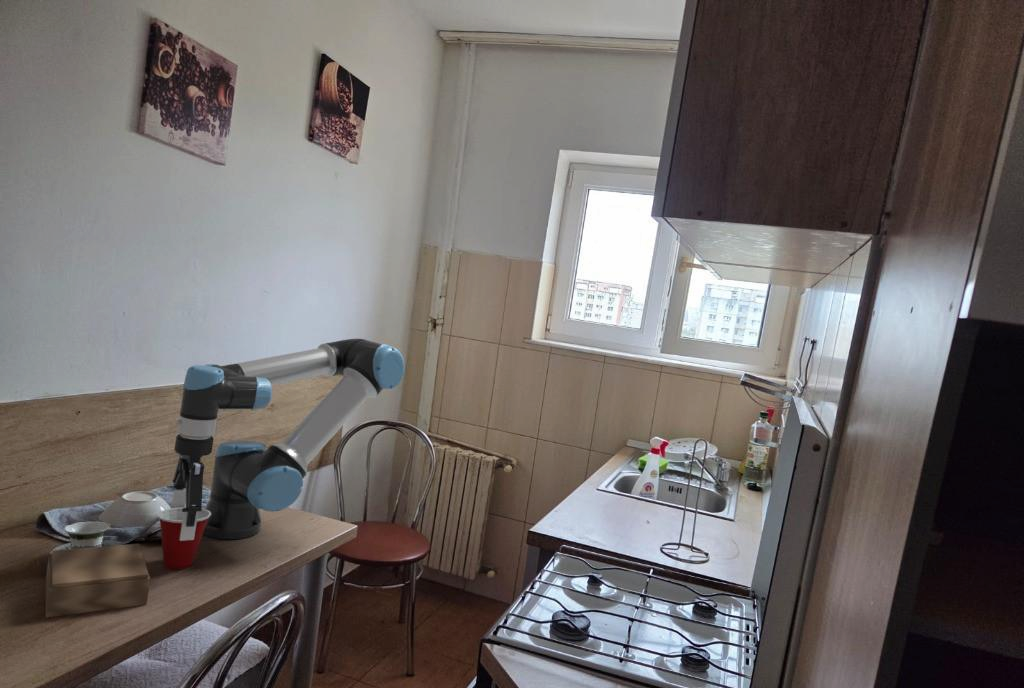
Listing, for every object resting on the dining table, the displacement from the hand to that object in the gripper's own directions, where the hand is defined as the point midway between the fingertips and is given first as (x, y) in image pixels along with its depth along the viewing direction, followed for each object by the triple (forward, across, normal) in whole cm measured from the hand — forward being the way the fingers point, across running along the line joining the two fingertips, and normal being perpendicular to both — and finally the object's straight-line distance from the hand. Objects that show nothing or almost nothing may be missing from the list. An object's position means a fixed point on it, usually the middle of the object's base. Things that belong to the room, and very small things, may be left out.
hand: (181, 528), depth 141 cm
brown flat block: (+8, +9, -16) cm, 20 cm away
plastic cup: (+8, 0, 0) cm, 9 cm away
